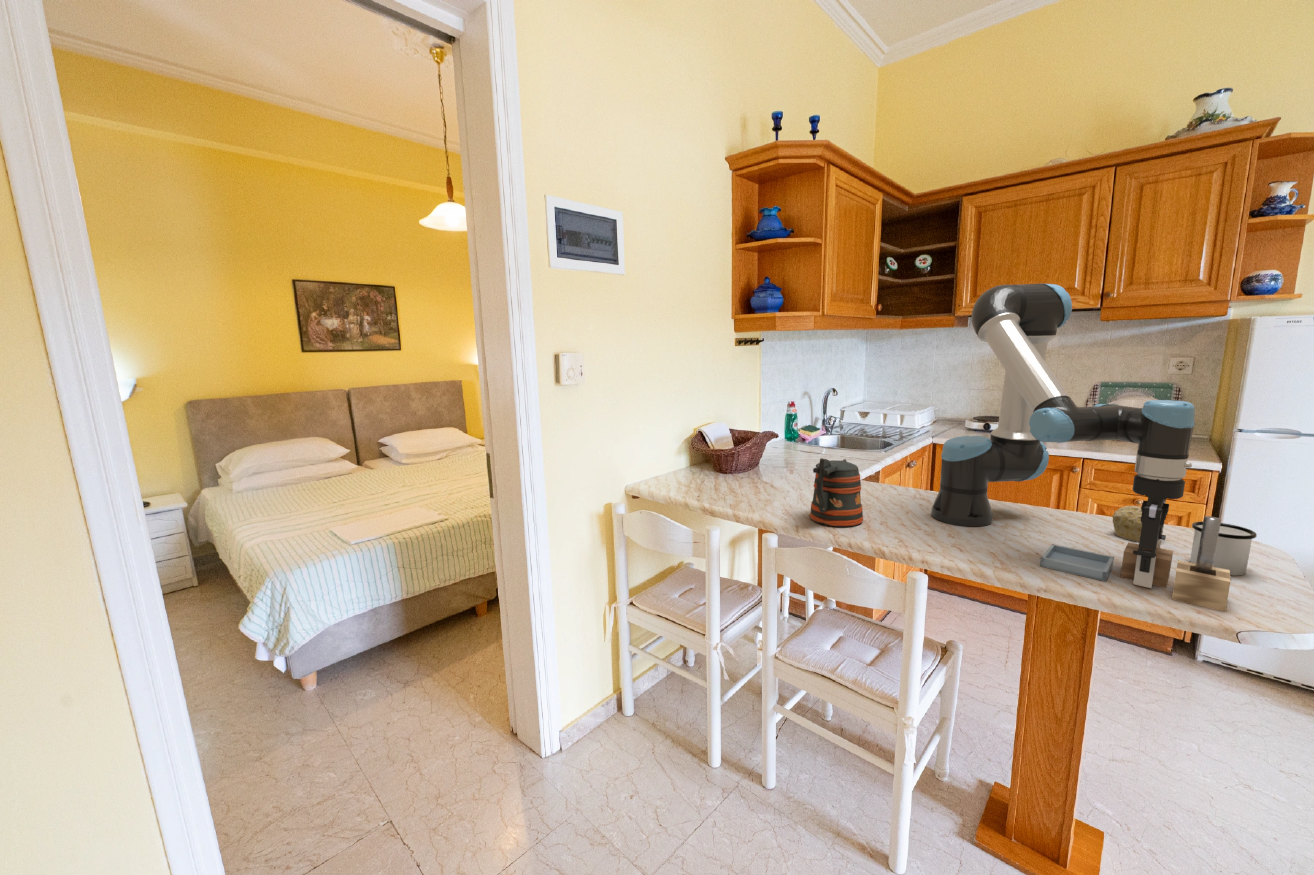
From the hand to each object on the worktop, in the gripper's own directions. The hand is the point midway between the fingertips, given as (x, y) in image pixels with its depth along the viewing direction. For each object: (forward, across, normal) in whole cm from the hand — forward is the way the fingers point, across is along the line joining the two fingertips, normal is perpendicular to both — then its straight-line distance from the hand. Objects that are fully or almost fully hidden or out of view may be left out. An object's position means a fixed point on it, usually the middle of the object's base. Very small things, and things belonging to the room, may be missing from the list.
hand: (1145, 576), depth 109 cm
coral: (0, +28, +4) cm, 29 cm away
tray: (0, -2, +11) cm, 11 cm away
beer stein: (0, -12, +65) cm, 66 cm away
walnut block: (0, 0, 0) cm, 0 cm away
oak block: (0, -6, -8) cm, 10 cm away
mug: (0, +18, -10) cm, 20 cm away
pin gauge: (-1, -6, -8) cm, 10 cm away
